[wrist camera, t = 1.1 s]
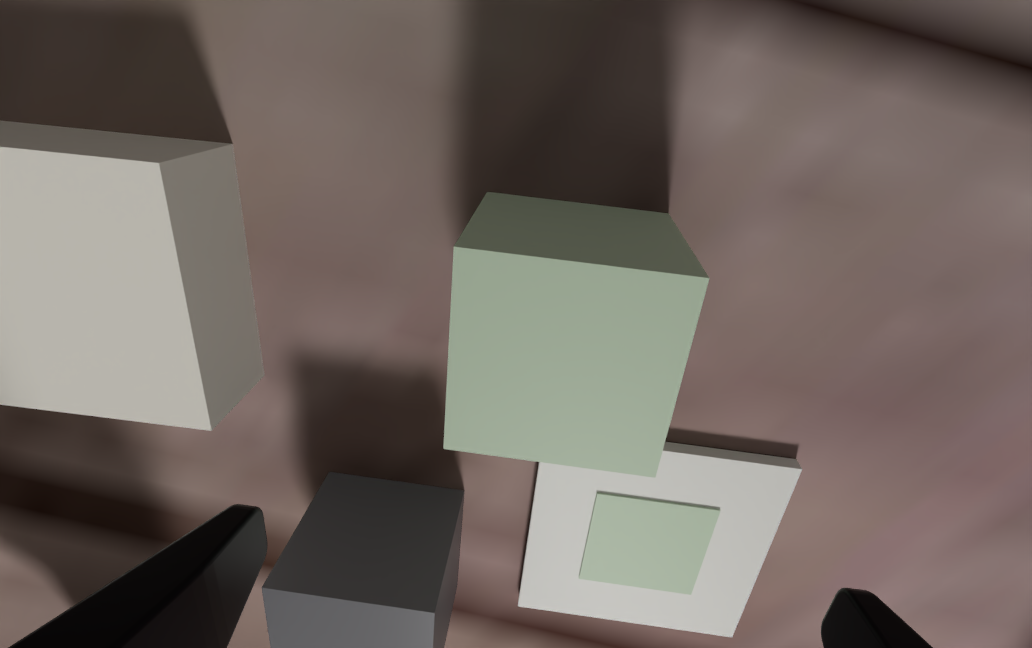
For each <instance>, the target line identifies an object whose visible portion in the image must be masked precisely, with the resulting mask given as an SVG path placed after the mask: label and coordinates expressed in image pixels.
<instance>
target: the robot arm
mask: <svg viewBox="0 0 1032 648" xmlns="http://www.w3.org/2000/svg"><path fill="white" fill-rule="evenodd" d="M266 552H267V537H266V531H265V524H264V517H263V512H262V510H261V509H260V508H259V507H256V506H249V505H241V504H235V505H232V506H230V507H228V508H227V509H225V510H223V511H222V512H220V513H219V514H217V515H216V516H214V517H212V518H211V519H209V520H208V521H206V522H205V523H203V524H202V525H200V526H198V527H197V528H195V529H194V530H192V531H191V532H189V533H187V534H186V535H184V536H183V537H181V538H180V539H178V540H176V541H175V542H173V543H172V544H170V545H169V546H167V547H165V548H164V549H162V550H161V551H159V552H158V553H156V554H154V555H153V556H151V557H150V558H148V559H147V560H145V561H143V562H142V563H140V564H139V565H137V566H136V567H134V568H132V569H131V570H129V571H128V572H126V573H125V574H123V575H121V576H120V577H118V578H117V579H115V580H114V581H112V582H111V583H109V584H107V585H106V586H104V587H103V588H101V589H100V590H98V591H96V592H95V593H93V594H92V595H90V596H89V597H87V598H85V599H84V600H82V601H81V602H79V603H78V604H76V605H74V606H73V607H71V608H70V609H68V610H67V611H65V612H63V613H62V614H60V615H59V616H57V617H56V618H54V619H52V620H51V621H49V622H48V623H46V624H45V625H43V626H41V627H40V628H38V629H37V630H35V631H34V632H32V633H30V634H29V635H27V636H26V637H24V638H23V639H21V640H20V641H18V642H16V643H15V644H13V645H12V646H10V647H9V648H227V646H228V644H229V642H230V639H231V637H232V635H233V632H234V630H235V628H236V625H237V623H238V620H239V618H240V616H241V613H242V611H243V609H244V606H245V604H246V602H247V599H248V597H249V595H250V592H251V590H252V588H253V585H254V583H255V581H256V578H257V576H258V574H259V571H260V569H261V566H262V564H263V562H264V559H265V556H266ZM821 637H822V642H823V646H824V648H933V647H932V646H931V645H929V644H928V643H927V642H926V641H925V640H924V639H923V638H922V637H921V636H920V635H918V634H917V633H916V632H915V631H914V630H913V629H912V628H911V627H910V626H909V625H908V624H906V623H905V622H904V621H903V620H902V619H901V618H900V617H899V616H898V615H897V614H895V613H894V612H893V611H892V610H891V609H890V608H889V607H888V606H887V605H886V604H885V603H883V602H882V601H881V600H880V599H879V598H878V597H877V596H876V595H874V594H873V593H871V592H869V591H866V590H859V589H852V588H842V589H840V590H839V591H838V592H837V593H836V595H835V597H834V599H833V601H832V603H831V605H830V607H829V609H828V611H827V613H826V615H825V617H824V619H823V621H822V625H821Z"/></svg>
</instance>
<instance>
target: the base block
mask: <svg viewBox="0 0 1032 648" xmlns="http://www.w3.org/2000/svg"><path fill="white" fill-rule="evenodd" d="M263 377H264V368H263V361H262V353H261V346H260V339H259V331H258V324H257V317H256V310H255V302H254V295H253V288H252V280H251V273H250V266H249V258H248V251H247V244H246V236H245V229H244V222H243V214H242V207H241V200H240V193H239V185H238V178H237V171H236V163H235V156H234V149H233V144H229V143H219V142H209V141H199V140H189V139H180V138H170V137H160V136H150V135H140V134H130V133H120V132H110V131H100V130H90V129H80V128H70V127H60V126H50V125H40V124H30V123H20V122H11V121H1V120H0V405H7V406H15V407H23V408H31V409H40V410H48V411H56V412H64V413H72V414H80V415H88V416H96V417H104V418H112V419H120V420H129V421H137V422H145V423H153V424H161V425H169V426H177V427H185V428H193V429H201V430H209V431H212V430H213V429H214V428H215V427H216V426H217V425H218V424H219V422H220V421H221V420H222V419H223V418H224V417H225V416H226V415H227V414H228V413H229V412H230V411H231V410H232V409H233V408H234V407H235V406H236V405H237V404H238V403H239V402H240V401H241V399H242V398H243V397H244V396H245V395H246V394H247V393H248V392H249V391H250V390H251V389H252V388H253V387H254V386H255V385H256V384H257V383H258V382H259V381H260V380H261V379H262V378H263Z"/></svg>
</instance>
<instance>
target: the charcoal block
mask: <svg viewBox="0 0 1032 648" xmlns="http://www.w3.org/2000/svg"><path fill="white" fill-rule="evenodd" d="M463 503H464V490H458V489H450V488H443V487H436V486H429V485H421V484H414V483H407V482H400V481H392V480H385V479H378V478H371V477H363V476H356V475H349V474H342V473H335V472H329V473H328V474H327V476H326V478H325V480H324V481H323V483H322V485H321V486H320V488H319V490H318V492H317V493H316V495H315V497H314V499H313V500H312V502H311V504H310V505H309V507H308V509H307V511H306V512H305V514H304V516H303V517H302V519H301V521H300V523H299V524H298V526H297V528H296V530H295V531H294V533H293V535H292V536H291V538H290V540H289V542H288V543H287V545H286V547H285V548H284V550H283V552H282V554H281V555H280V557H279V559H278V561H277V562H276V564H275V566H274V567H273V569H272V571H271V573H270V574H269V576H268V578H267V579H266V581H265V583H264V585H263V586H262V593H263V600H264V606H265V613H266V620H267V626H268V633H269V640H270V646H271V648H444V645H445V641H446V636H447V631H448V627H449V622H450V617H451V612H452V608H453V603H454V598H455V594H456V589H457V582H458V569H459V556H460V543H461V529H462V516H463Z"/></svg>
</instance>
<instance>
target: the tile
mask: <svg viewBox="0 0 1032 648" xmlns="http://www.w3.org/2000/svg"><path fill="white" fill-rule="evenodd" d="M801 471H802V468H801V466H800V464H799V463H798V461H797V459H791V458H784V457H776V456H769V455H762V454H754V453H747V452H739V451H732V450H724V449H717V448H709V447H702V446H694V445H687V444H679V443H672V442H665V444H664V448H663V451H662V455H661V459H660V462H659V466H658V470H657V473H656V477H655V478H654V477H646V476H639V475H632V474H624V473H617V472H610V471H602V470H595V469H587V468H580V467H573V466H565V465H558V464H551V463H543V462H539V464H538V470H537V477H536V484H535V491H534V497H533V504H532V511H531V517H530V524H529V531H528V538H527V544H526V551H525V558H524V564H523V571H522V578H521V585H520V591H519V600H518V606H519V607H526V608H533V609H540V610H547V611H554V612H561V613H568V614H575V615H581V616H588V617H595V618H602V619H609V620H616V621H623V622H630V623H637V624H643V625H650V626H657V627H664V628H671V629H678V630H685V631H692V632H699V633H705V634H712V635H719V636H726V637H732V636H733V634H734V631H735V629H736V627H737V624H738V622H739V619H740V617H741V615H742V612H743V610H744V607H745V605H746V603H747V600H748V598H749V596H750V593H751V591H752V588H753V586H754V584H755V581H756V579H757V576H758V574H759V572H760V569H761V567H762V564H763V562H764V560H765V557H766V555H767V552H768V550H769V548H770V545H771V543H772V540H773V538H774V536H775V533H776V531H777V529H778V526H779V524H780V521H781V519H782V517H783V514H784V512H785V509H786V507H787V505H788V502H789V500H790V497H791V495H792V493H793V490H794V488H795V485H796V483H797V481H798V478H799V476H800V473H801Z"/></svg>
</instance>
